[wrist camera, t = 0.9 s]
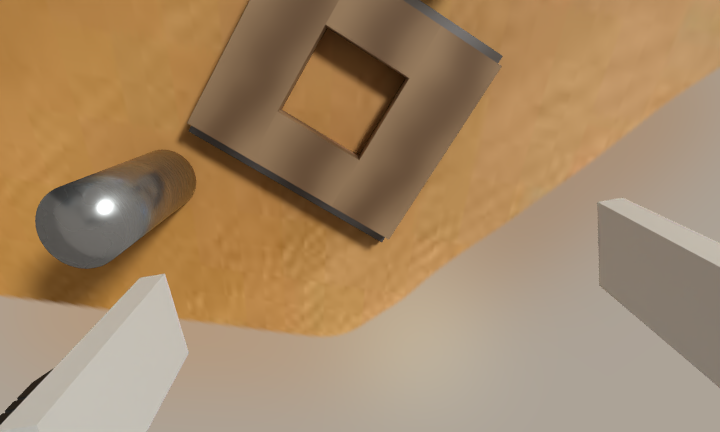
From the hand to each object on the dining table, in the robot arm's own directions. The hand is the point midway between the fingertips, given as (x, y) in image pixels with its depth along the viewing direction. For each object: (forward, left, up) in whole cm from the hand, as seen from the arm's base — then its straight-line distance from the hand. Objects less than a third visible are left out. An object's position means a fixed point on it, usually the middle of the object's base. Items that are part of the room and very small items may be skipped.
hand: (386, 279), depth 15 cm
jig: (-4, +3, -22) cm, 23 cm away
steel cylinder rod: (-12, -9, -22) cm, 27 cm away
